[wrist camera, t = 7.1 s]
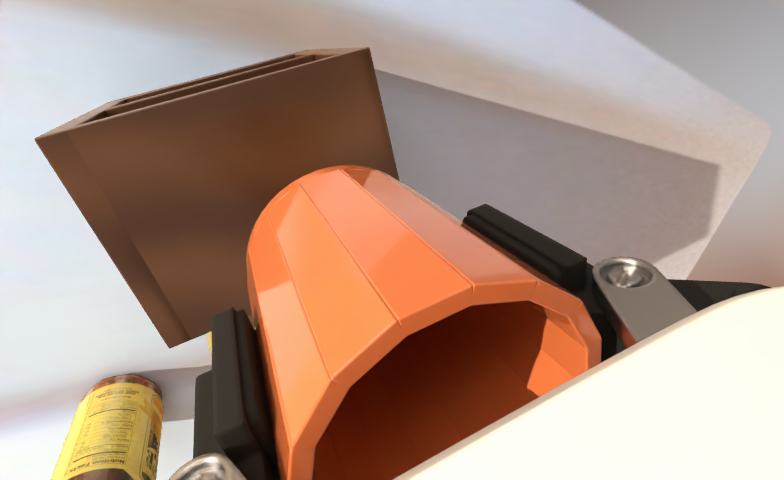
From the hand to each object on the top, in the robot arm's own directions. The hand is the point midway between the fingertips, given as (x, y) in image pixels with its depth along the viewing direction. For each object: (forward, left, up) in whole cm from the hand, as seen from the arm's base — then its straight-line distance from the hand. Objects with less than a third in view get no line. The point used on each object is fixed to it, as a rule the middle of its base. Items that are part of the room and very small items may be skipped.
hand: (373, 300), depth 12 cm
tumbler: (0, 0, -3) cm, 3 cm away
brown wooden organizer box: (0, -2, -24) cm, 25 cm away
